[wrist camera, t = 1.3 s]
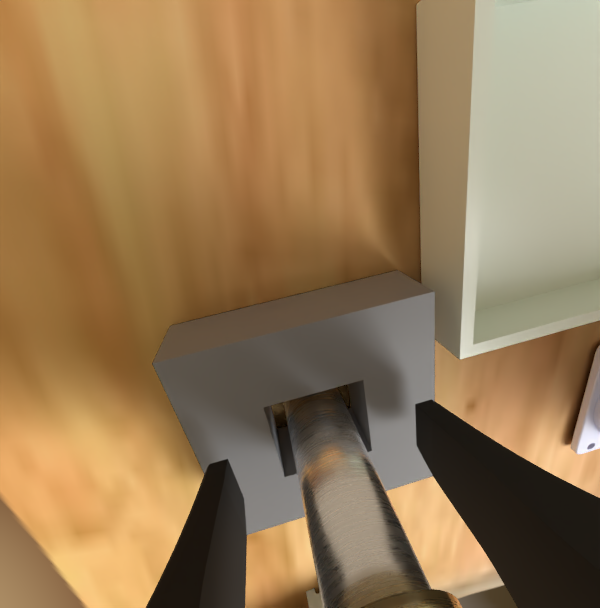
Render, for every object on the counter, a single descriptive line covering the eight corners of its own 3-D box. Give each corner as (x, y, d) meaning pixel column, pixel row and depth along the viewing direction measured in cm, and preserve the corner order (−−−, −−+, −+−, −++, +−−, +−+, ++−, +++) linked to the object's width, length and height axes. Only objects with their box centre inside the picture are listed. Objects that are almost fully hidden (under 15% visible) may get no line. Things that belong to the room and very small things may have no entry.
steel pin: (337, 348, 13) (497, 628, 5) (346, 405, 14) (483, 697, 6) (264, 368, 13) (307, 699, 5) (280, 424, 14) (335, 756, 6)
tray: (730, -46, 10) (878, -113, 8) (636, 271, 14) (711, 289, 12) (416, 4, 9) (478, -57, 6) (422, 328, 13) (459, 359, 11)
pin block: (397, 270, 12) (434, 291, 10) (406, 432, 16) (434, 475, 13) (170, 325, 11) (152, 363, 9) (235, 483, 15) (235, 538, 13)
